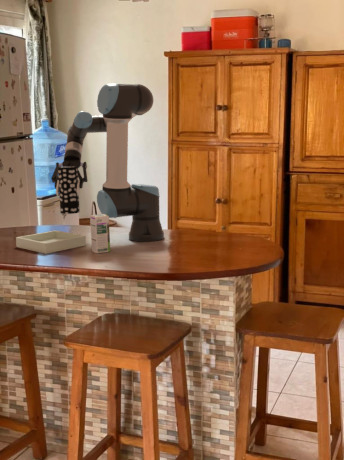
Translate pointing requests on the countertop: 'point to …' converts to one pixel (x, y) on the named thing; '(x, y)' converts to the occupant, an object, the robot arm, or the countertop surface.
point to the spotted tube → (68, 189)
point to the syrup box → (100, 233)
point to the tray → (50, 241)
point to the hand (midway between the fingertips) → (67, 193)
